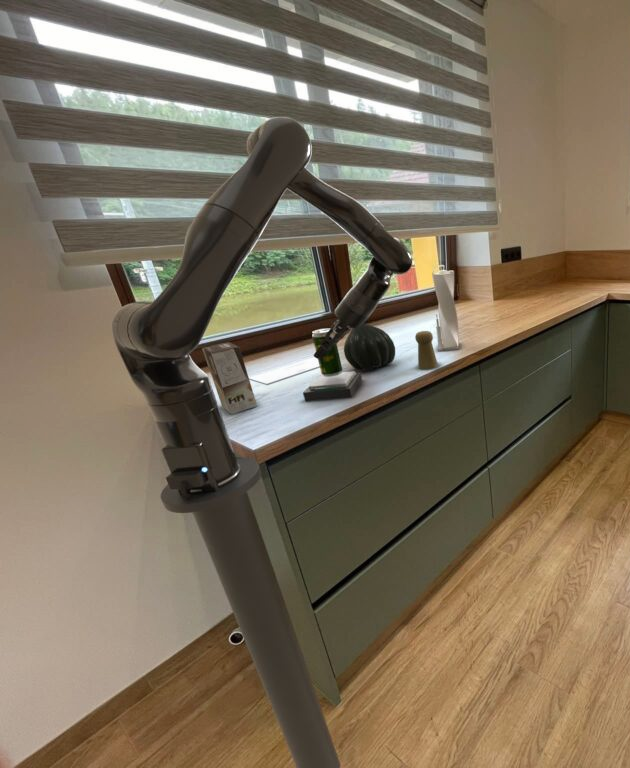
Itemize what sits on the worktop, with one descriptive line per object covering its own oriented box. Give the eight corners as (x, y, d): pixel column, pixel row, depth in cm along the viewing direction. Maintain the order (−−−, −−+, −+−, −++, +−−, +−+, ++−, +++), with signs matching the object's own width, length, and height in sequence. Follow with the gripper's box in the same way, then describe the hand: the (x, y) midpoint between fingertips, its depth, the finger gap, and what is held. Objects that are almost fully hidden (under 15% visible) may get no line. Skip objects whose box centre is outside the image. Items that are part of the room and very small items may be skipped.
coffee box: (258, 406, 110) (240, 346, 104) (231, 415, 106) (210, 353, 100) (247, 398, 116) (229, 341, 110) (220, 406, 112) (200, 347, 106)
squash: (403, 351, 129) (384, 311, 133) (354, 365, 122) (335, 321, 125) (397, 372, 141) (380, 334, 145) (352, 385, 134) (335, 345, 137)
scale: (351, 397, 112) (349, 385, 111) (305, 401, 111) (301, 389, 110) (362, 381, 123) (360, 369, 122) (320, 385, 122) (317, 373, 121)
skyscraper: (439, 344, 155) (429, 265, 145) (461, 342, 156) (453, 263, 145) (438, 351, 147) (427, 267, 137) (461, 349, 148) (453, 266, 138)
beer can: (338, 369, 119) (328, 327, 115) (346, 373, 115) (336, 329, 111) (318, 374, 116) (308, 331, 111) (326, 378, 112) (315, 334, 108)
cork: (415, 369, 130) (410, 334, 126) (422, 363, 136) (417, 329, 132) (434, 369, 129) (429, 334, 125) (440, 362, 135) (436, 329, 131)
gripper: (352, 292, 115) (317, 338, 119) (336, 301, 102) (297, 353, 106) (375, 310, 118) (340, 355, 121) (363, 321, 104) (324, 371, 108)
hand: (321, 354), depth 113 cm, fingers closed on beer can, 5 cm apart
